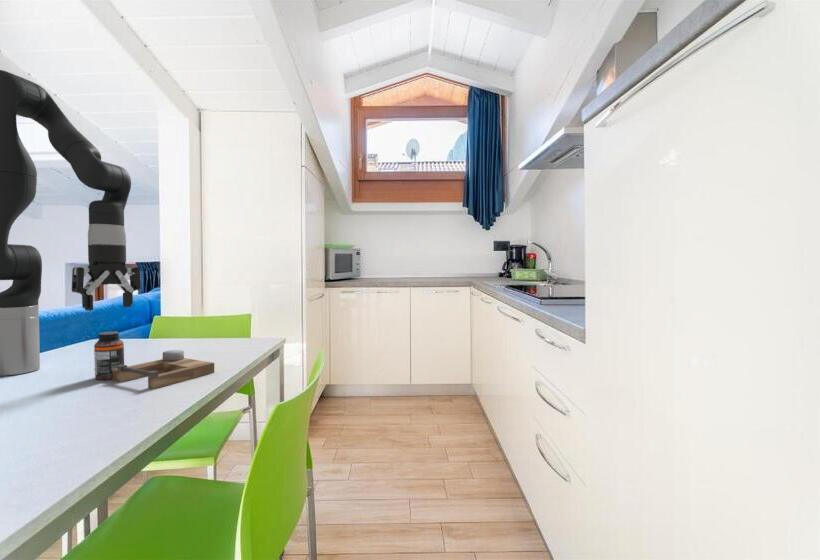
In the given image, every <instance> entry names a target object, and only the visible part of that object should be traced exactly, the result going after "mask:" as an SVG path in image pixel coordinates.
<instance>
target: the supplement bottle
mask: <svg viewBox="0 0 820 560" xmlns="http://www.w3.org/2000/svg"><path fill="white" fill-rule="evenodd" d="M119 337H120V336H119V332H118V331H104V332H100V333H98V340H97V341H96V342H95V344H94V345H93V348H94V350H93V351H94V357H93V359H94V375H95V376H94V378H95V379H96V380H99V381H107V380H113V372H112V370H113V369H118V367H117V366H120V365H125V347H124V345H125V342H124V341H123V339H120V338H119Z"/></svg>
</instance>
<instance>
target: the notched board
mask: <svg viewBox="0 0 820 560" xmlns="http://www.w3.org/2000/svg"><path fill="white" fill-rule="evenodd" d="M117 367H118V369H113V370H112V372H113V379H112V381H117V382H120V383H121V382H122V383H124V382H127V381H131V380H135V379H140V378H145V377H147V388H148V389H153V390H154V389H155V390H156V389H157V388H162V387H165V386H169V385H172V384H176V383H181V382H184V381H187V380H191V379H194V378H198V377H201V376H205V375H210V374H212V373H213V374H214V373H215V362H211V361H206V360H199V359H193V358H187V357H184V359H183V360H179V361H172V362H166V361H163V358H161V359H157V360H152V361H146V362H143V363H139V364H133V365H129V366H128V365H127V364H124V365H120V366H117Z"/></svg>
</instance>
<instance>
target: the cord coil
mask: <svg viewBox="0 0 820 560" xmlns="http://www.w3.org/2000/svg"><path fill="white" fill-rule="evenodd" d="M184 358H185V351H184V350H183V349H182V350H181V349H174V350H173V349H172V350H165V351H163V352H162V359H163V361H166V362H172V361H179V360H183V359H184Z"/></svg>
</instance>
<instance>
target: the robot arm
mask: <svg viewBox="0 0 820 560" xmlns="http://www.w3.org/2000/svg"><path fill="white" fill-rule="evenodd" d="M17 116H19V117H23V118H27V119H31V120H33V121H34V122H37V124H39V125H41V126H42V127H43V128H44V129H45V130H46V131H47V137H48V140H49V143H50V144H51V146H52V147H53V149H54V150H55V151H56V152H57V153H58V154H59V155H60V156H61V157H62V158H63V159H65V161H67V162H68V163H69V164H70V167H71V168H72V170H73V172H74V174H75V175H76V177H77V179H78V180H79V181H80V183H82V184H83V185H85V186H86V187H88V188H90V189H93V190H97V191H102V192H104V193H103V195H102V199H101V200H99V199H98V200H97V199H96V200H93V201H91V202H90V203H89V204H88V230H87V255H88V257H87V259H88V260H87V261H88V267H82V266H74V267H73V268H72V272H71V273H72V274H71V292H72V293H76V294H80V295H81V302H82V303H81V306H82V308H83V309H84V311H89V312H90V311H91V312H92V311H93V310H94V294H93V292H94V291H95V290H96V289H97V288H99V287H100V285H103V286H104V285H117V286H118V287H119V288H120V289H121V290H122V291H123V292H122V307H123V308H131V307H132V305H133V303H134V301H133V299H134V298H133V297H134V296H133V295H134V292H136V291H139V290H141V288H142V285H141V271H140V267H138V266H131V267H127V265H126V263H127V237H126V236H127V235H126V229H125V209H126V205H127V204H128V203H127V201H128V200H129V195H130V192H131V189H132V179H131V176H130V174H129V172H128V171H127V169H125V168H124V167H123V166H119V165H117V164H113V163H110V162H106V161H103V160H102V154H101V152H100V151H99V149H98V148H97V147H96V146H95V145H94V144H93V143H92V142H91V141H90V140H89V139H88V138H86V137H85V136H84V135H83V134H82V133H81V132H80V131H79V130H78V128H76V127H75V126H74V125H73V123H72V122H71V121H70V120H69V118H68V117H67V116H66V115H65V113H64V112H63V111H62V110H61V108H60V106H58V104H57V103H56V101H55V100H54V99H53V97H52V96H51V94H50V93H49V92H48V91H47V90H46V89H45V88H44V87H42V86H41V85H40V84H38V83H35V82H33V81H31V80H29V79H26V78H24V77H21V76H19V75H17V74H13V73H11V72H10V71H6V70H2V69H0V281H12V284H11V285H10V286H9V287H8V288H7V289H5V290H3V291H1V292H0V376H13V375H21V374H27V373H30V372H35V371H37V370H39V369H41V362H40V361H41V353H40V351H41V350H40V349H41V348H40V315H39V314H40V312H39V311H40V310H39V299H40V296H41V293H42V275H43V274H42V273H43V260H42V255H41V253H40V251H39V250H38V249H37V247H35V246H33V245H28V244H27V245H26V244H13V243H12V244H9V242H8V241H9V237H10V236H9V235H10V233H11V232H10V231H11V229H12V226H13V224H14V223H15V221H16V220H17V219H18V218H19V217H20V216H21V215H22V214H23V213H24V211H25V210H27V208H29V206H30V204H31V203H32V202H33V201H34V199H35V198H36V194H37V185H38V184H37V182H38V179H37V178H38V173H37V167H36V165H35V163H34V160H32V157H31V155H30V154H29V152H28V150H27V148H26V147H25V146H24V143H23V141H22V140H21V137H20V135H19V132H18V125H17ZM87 274H88V275H89V277H90V278H89V279H88V280H87V282H86V283H85V286H84V281H85V280H84V279H85V276H87ZM126 275H128V276H129V281H128V279H127V278H126V277H125V276H126Z"/></svg>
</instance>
